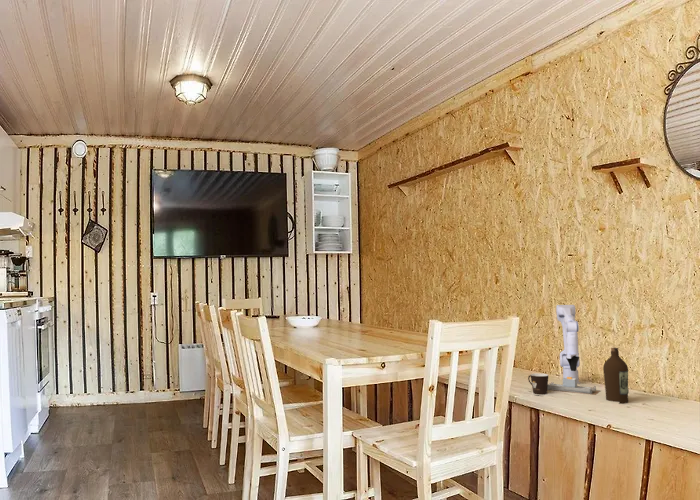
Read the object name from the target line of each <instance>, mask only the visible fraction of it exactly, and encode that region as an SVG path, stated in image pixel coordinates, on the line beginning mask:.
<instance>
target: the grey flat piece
mask: <svg viewBox="0 0 700 500" xmlns="http://www.w3.org/2000/svg"><path fill="white" fill-rule="evenodd" d="M550 390H555V391H554V392H560V391H565V392H564V393H570V392H575V393H574V394H580V393H585V394H584V395H590V394H593V393H594V392H595V391H597V386H595V385H593V386H591V387H590V386H581V385H577V387H567V386H563V384H560V383H559V384H558V383H554V382H553V381H551V382H550V383H549V382H548V387H547V391H550Z"/></svg>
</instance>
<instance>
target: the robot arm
mask: <svg viewBox="0 0 700 500" xmlns="http://www.w3.org/2000/svg"><path fill="white" fill-rule="evenodd" d="M555 308H556V309H555V310H556V311H555V312H556V313H555V314H556V319H557V321H558V322H560V324H561V327H562V338H563V350H562V351H560V353H559V365H560V367H561V368H562V379H563V378H567V377H572V378H576V379H577V385H578V384H581V381H579V379H580V378H579V369H578V368H579V367H580V366H581V365H580V363H581V362H580V351H579V336H578V335H579V330H580V327H579V321H577V320H576V306H575V304H557V305H556V306H555Z"/></svg>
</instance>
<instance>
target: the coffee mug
mask: <svg viewBox="0 0 700 500" xmlns="http://www.w3.org/2000/svg"><path fill="white" fill-rule="evenodd" d="M527 380H528V383H529V384H530V385H531V386H532V393H533V395H534V396H536V397H540V396H545V395H547V394H548V390H547V387H548V384H549V374H547V373H536V372H535V373H530V375H528V377H527Z"/></svg>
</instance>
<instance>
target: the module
mask: <svg viewBox="0 0 700 500" xmlns="http://www.w3.org/2000/svg"><path fill="white" fill-rule="evenodd" d="M562 385H563V386H567V387H577V386H578V384H577V379H576V378H572V377H567V378H563V377H562Z"/></svg>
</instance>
